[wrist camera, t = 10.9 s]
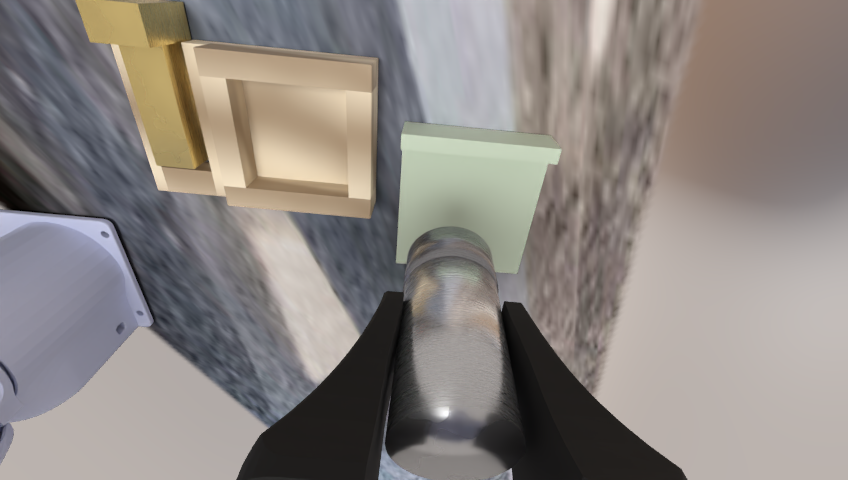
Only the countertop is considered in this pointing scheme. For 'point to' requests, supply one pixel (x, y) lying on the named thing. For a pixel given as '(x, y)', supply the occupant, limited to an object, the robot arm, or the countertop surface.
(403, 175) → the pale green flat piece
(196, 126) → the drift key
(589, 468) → the robot arm
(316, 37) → the countertop surface
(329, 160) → the socket
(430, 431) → the clear glass vial
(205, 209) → the countertop surface
